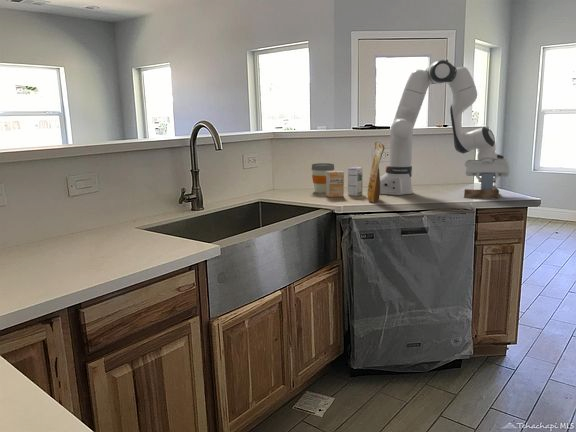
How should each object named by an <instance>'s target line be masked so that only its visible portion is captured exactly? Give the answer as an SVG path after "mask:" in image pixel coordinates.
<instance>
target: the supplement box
mask: <svg viewBox="0 0 576 432" xmlns="http://www.w3.org/2000/svg"><path fill="white" fill-rule="evenodd" d="M344 183H345V172H344V171H342V170H337V171H335V170H334V171H326V193H325V196H326V197H327V198H329V199H330V198H342V197H343V198H344V194H345V193H344V191H345V190H344V189H345V188H344V187H345V185H344Z"/></svg>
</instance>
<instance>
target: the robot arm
mask: <svg viewBox="0 0 576 432" xmlns="http://www.w3.org/2000/svg"><path fill="white" fill-rule="evenodd" d="M444 83H445V84H447V85H448V86H449V88H450V90H451V93H452V97H453V100H452V104H451V105H450V109H449V110H450V111H449V112H450V113H449V114H450V120H451V127H452V134H453V144H454V148H455V151H456V152H458V153H460V154H463V155H464V154H466V153H469V152H471V151H474V150H476V151H477V159H468V160H465V162H464V166H465V175H466V176H467V177H476V179H477V180H478V183H481V182H482V173H492V174H493V175H494V177H493V184H496V183H497V179H498V178H499V177H508V176H510V166H509V163H508V161H507V156H505V155H502V154H499V153H496V150H497V146H496V145H497V144H496V140H495V139H496V138H495V135H494V133H493V131H492V130H491V129H489V128H487V127H484V126H483V127H479V128H475V129H473V130H471V131H467V132H463V127H462V119H461V118H462V114H463V113H464V112H465V111H466V110H467V109H469V108H470V107H471V106H472V105H473V104H474V103H475V101H476V100H477V97H478V91H477V87H476V83H475V81H474V78H473V77H472V74H471V72H470V71H469V69H468V68H467V67H465V66H458V67H456V66H454V65H453V64H452V63H450V62H449V61H448V60H444V59H440V60H436V61H433V62H432V63H431V64H430V65H429V66H428V67H427V68H425V70H424V69H415V70H413V71H412V72H411V73H410V75H409V77H408V80H407V81H406V83H405V86H404V88H403V90H402V93H401V98H400V101H399V103H398V106H397V110H396V112H395V116H394V119H393V121H392V124H391V125H390V138H389V139H390V143H389V145H390V147H389V148H390V151H389V153H390V154H389V165H387V166H385V173H384V174H383V175H381V176H380V195H391V196H403V195H409V194H413V193H414V190H413V185H412V175H413V166H412V159H413V158H412V157H413V156H412V154H413V152H412V151H413V138H414V137H413V136H414V135H413V134H414V127H415V124H416V122H417V119H418V117H419V114H420V111H421V109H422V105H423V103H424V100H425V97H426V93H427V91H428V88H429V86H430V85H432V84H435V85H436V84H437V85H439V84H440V85H441V84H444Z"/></svg>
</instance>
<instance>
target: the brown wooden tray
mask: <svg viewBox="0 0 576 432" xmlns="http://www.w3.org/2000/svg"><path fill="white" fill-rule="evenodd" d="M463 193H464V195H463V198H465V199H466V198H470V199H490V198H495V199H494V200H496V199H497V200H499V197H500V196H499V195H500V190H499V188H498V187H497V186H496V185H493V190H481V189H474V188H473V189H469V188H468V189H466V188H465V189H464V191H463Z"/></svg>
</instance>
